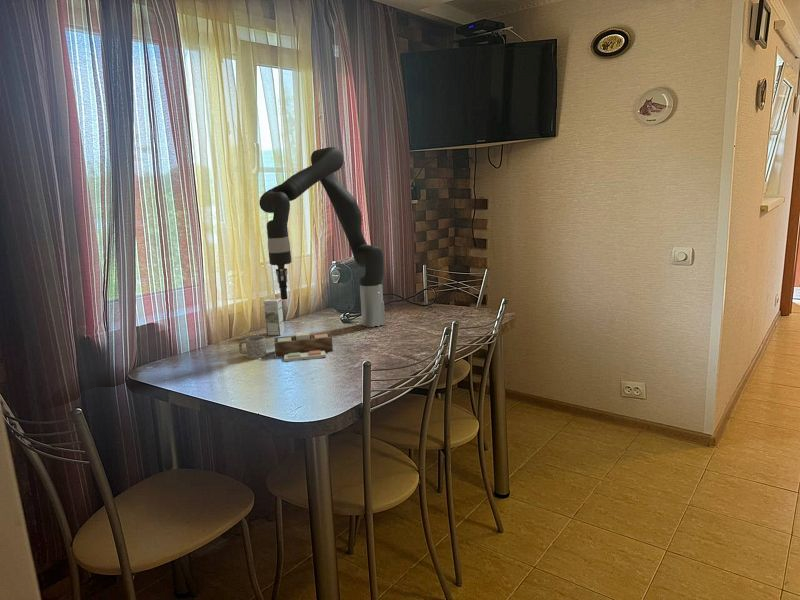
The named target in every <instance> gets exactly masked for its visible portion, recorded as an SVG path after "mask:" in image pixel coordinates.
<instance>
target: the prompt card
mask: <svg viewBox="0 0 800 600" xmlns="http://www.w3.org/2000/svg"><path fill="white" fill-rule="evenodd" d="M283 357H284V362H285V361H286V362H293V361H294V360H296V361H303V359H306V360H313V358H315V359H323V358H322V357H325V358H327V355H326V352H325V351H321V350H317V351H309V352H306V353H300V352H297V353H289V354H287V355H284V356H283Z"/></svg>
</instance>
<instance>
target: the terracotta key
mask: <svg viewBox="0 0 800 600" xmlns="http://www.w3.org/2000/svg"><path fill="white" fill-rule="evenodd" d="M326 337H328V334H319V335H314V339H315V338H326Z"/></svg>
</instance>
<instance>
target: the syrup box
mask: <svg viewBox="0 0 800 600" xmlns="http://www.w3.org/2000/svg"><path fill="white" fill-rule="evenodd" d="M263 306H264V318H265V320H264V321H265V327H266V335H267V336H272V337H273V336H274V337H275V336H282V335H283V334H285V327H284V326H285V325H284V324H285V323H284V316H283V314H284V313H283V303H282V299H281V297H279V298H278V297H271V298H269V297H268V298H267V297H266V299H264V300H263ZM282 333H283V334H282ZM281 334H282V335H281Z"/></svg>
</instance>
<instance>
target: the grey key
mask: <svg viewBox="0 0 800 600" xmlns="http://www.w3.org/2000/svg"><path fill="white" fill-rule="evenodd" d="M310 334H311V333H310V331H308V330H307V331H298V332H295V336H296V340H305V339H310Z"/></svg>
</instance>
